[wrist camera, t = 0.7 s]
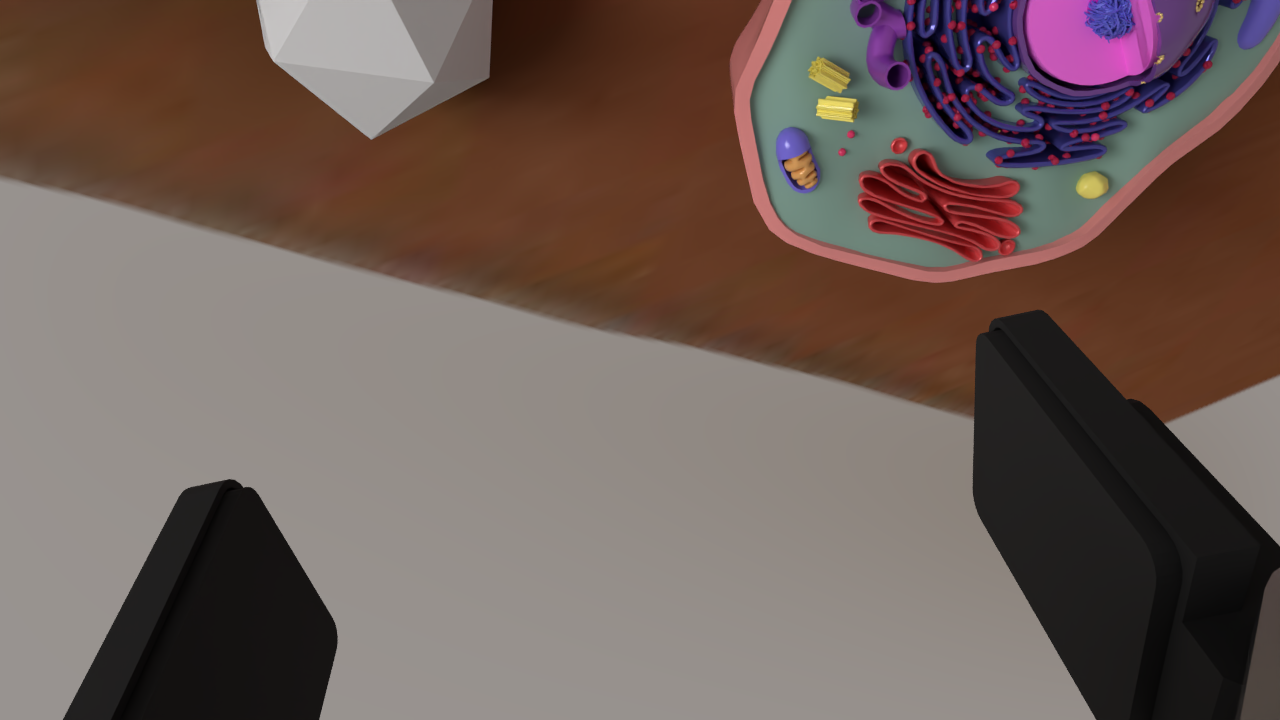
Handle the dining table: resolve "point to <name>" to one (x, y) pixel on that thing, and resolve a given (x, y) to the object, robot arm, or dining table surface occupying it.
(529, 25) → the dining table surface
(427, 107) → the die
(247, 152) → the dining table surface
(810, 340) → the dining table surface
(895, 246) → the cell model
